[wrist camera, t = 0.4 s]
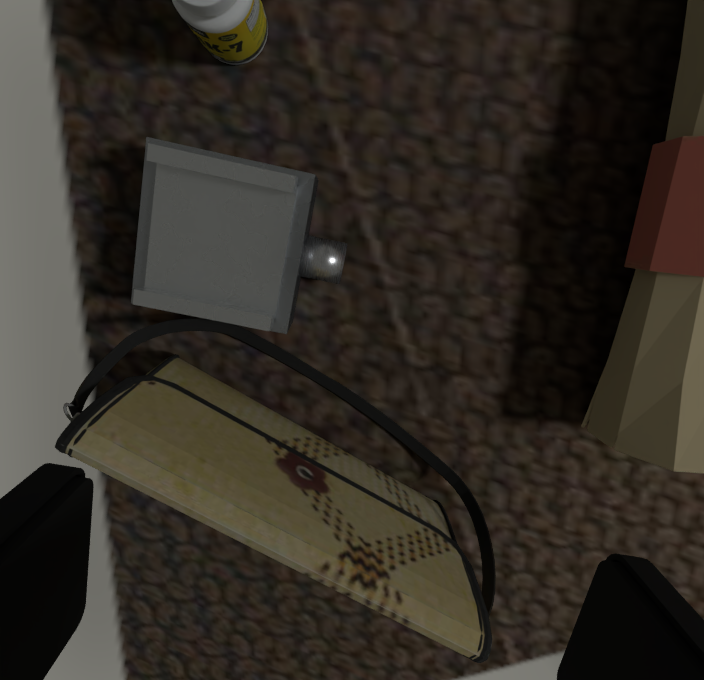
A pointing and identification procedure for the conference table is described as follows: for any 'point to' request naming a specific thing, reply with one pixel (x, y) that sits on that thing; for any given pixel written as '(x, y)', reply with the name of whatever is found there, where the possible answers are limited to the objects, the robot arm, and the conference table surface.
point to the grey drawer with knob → (227, 237)
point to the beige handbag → (287, 487)
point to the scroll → (664, 293)
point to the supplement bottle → (227, 27)
